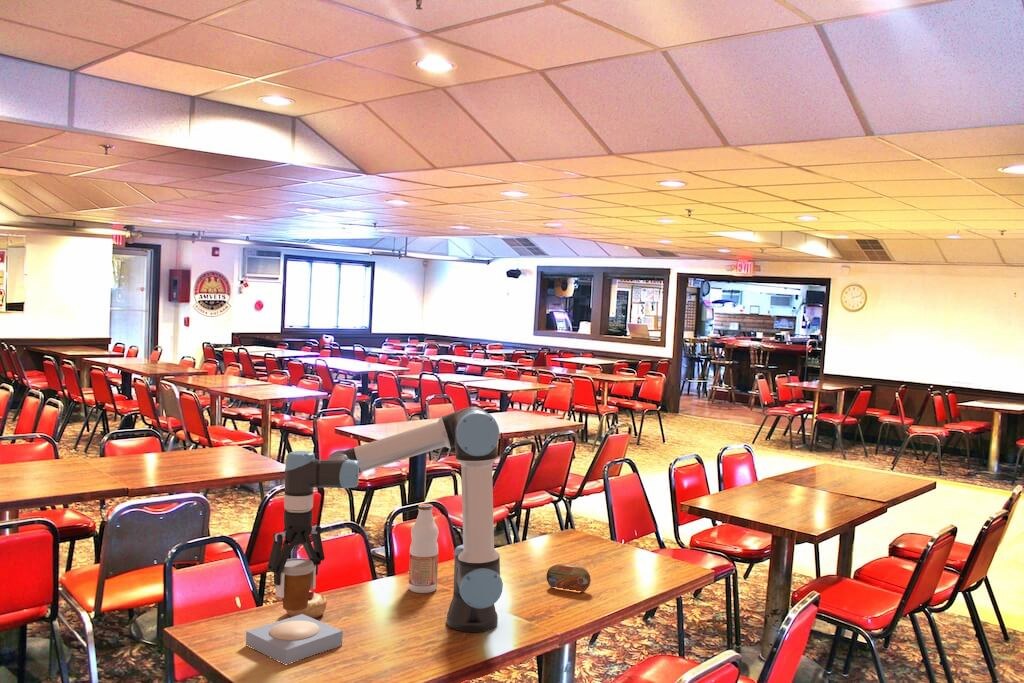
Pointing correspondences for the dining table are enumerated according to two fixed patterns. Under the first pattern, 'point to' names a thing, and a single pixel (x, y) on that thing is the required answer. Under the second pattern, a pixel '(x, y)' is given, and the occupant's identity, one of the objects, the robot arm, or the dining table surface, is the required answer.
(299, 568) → the disposable coffee cup
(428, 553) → the fruit juice
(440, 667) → the dining table surface
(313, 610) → the pastry
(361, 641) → the dining table surface
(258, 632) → the serving stand
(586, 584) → the tin
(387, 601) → the dining table surface
